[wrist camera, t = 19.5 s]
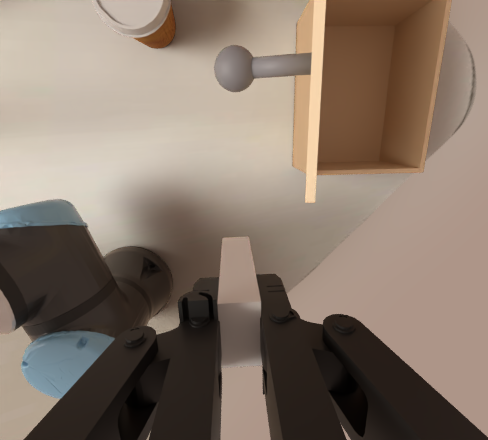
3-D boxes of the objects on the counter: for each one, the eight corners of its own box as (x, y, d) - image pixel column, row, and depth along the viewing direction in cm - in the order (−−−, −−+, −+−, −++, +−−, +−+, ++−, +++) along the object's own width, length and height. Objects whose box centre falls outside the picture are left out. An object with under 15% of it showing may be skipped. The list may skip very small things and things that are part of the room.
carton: (380, 163, 50) (423, 172, 39) (292, 166, 50) (309, 175, 39) (397, 22, 44) (454, -18, 33) (296, 23, 44) (318, -16, 32)
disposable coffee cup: (194, 7, 43) (180, -41, 31) (174, 70, 45) (153, 48, 34) (134, -24, 41) (95, -85, 30) (116, 43, 44) (74, 11, 32)
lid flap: (315, 202, 23) (211, 199, 25) (313, 175, 38) (248, 175, 40) (334, -154, 17) (193, -121, 19) (323, -19, 32) (245, -8, 34)
